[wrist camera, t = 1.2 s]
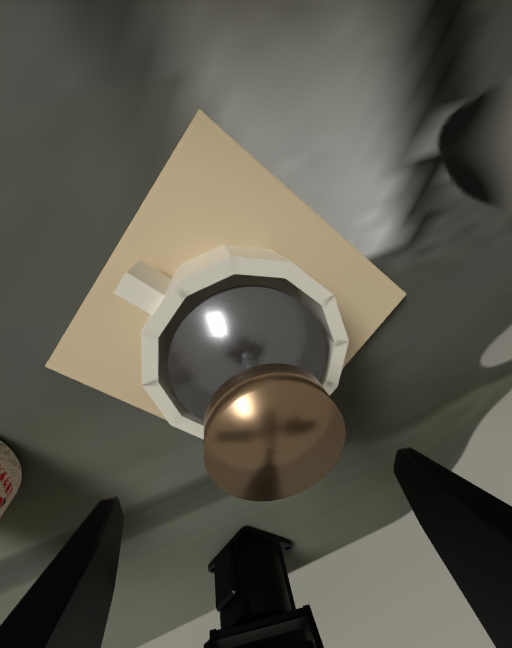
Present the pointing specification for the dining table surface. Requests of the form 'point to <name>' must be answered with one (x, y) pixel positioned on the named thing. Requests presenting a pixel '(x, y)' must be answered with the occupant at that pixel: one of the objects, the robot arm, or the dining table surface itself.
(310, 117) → the dining table surface
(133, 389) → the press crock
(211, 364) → the plunger
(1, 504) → the teacup with lid
